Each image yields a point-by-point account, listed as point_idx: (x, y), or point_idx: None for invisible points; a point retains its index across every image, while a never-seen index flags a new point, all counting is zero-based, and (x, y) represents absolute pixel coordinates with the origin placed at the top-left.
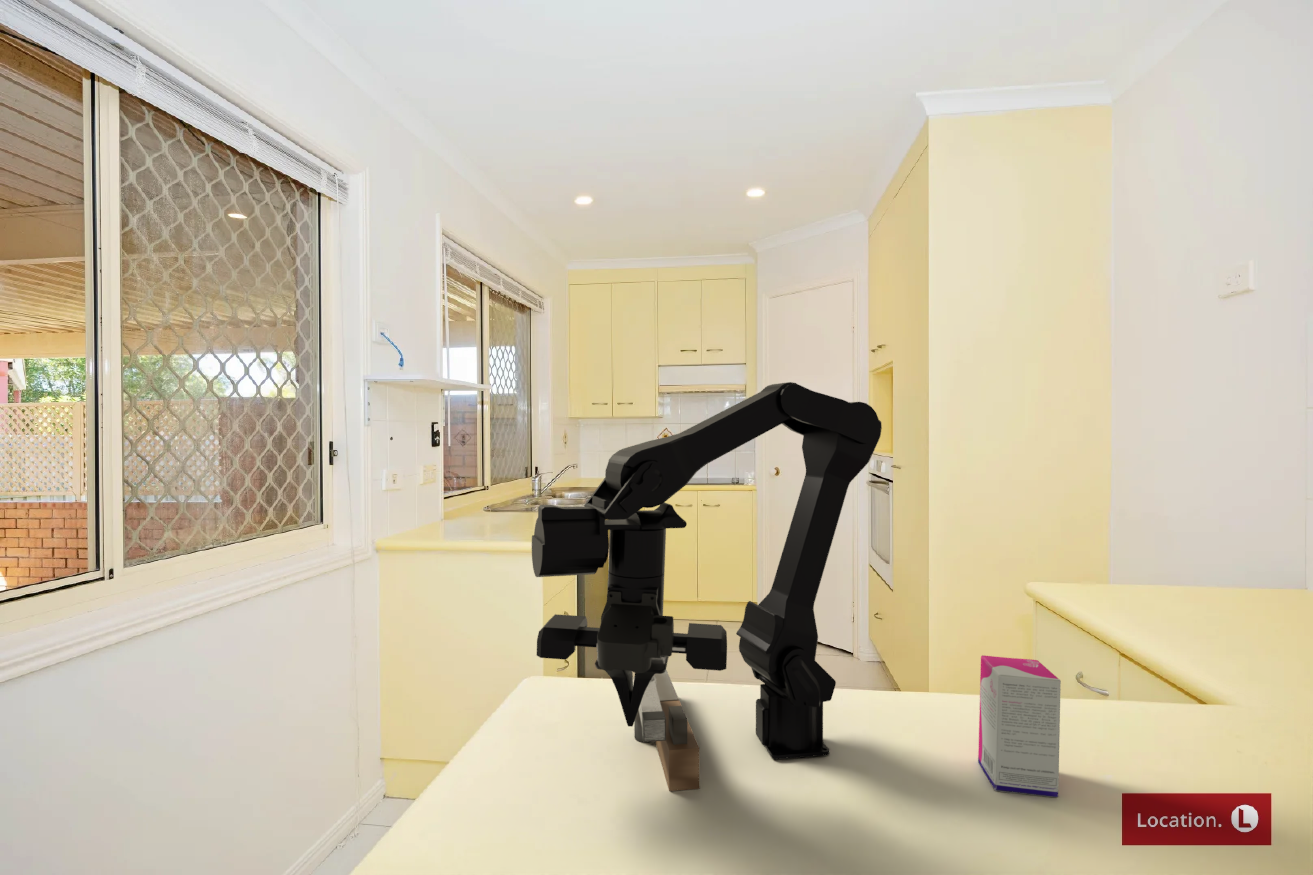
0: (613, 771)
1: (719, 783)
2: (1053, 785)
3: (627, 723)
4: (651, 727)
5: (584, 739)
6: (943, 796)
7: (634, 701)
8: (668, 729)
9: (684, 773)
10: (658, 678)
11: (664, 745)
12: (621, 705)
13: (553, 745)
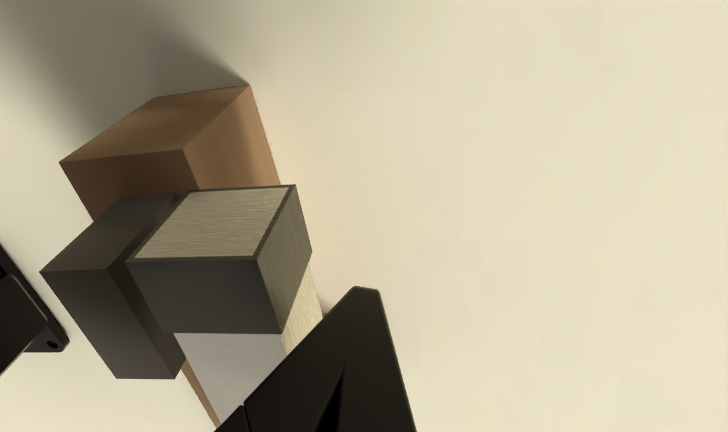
0: (449, 204)
1: (100, 125)
2: None
3: (378, 296)
4: (228, 227)
5: (537, 359)
6: None
7: (304, 389)
8: None
9: (172, 112)
10: None
11: None
12: (402, 379)
13: (642, 343)
